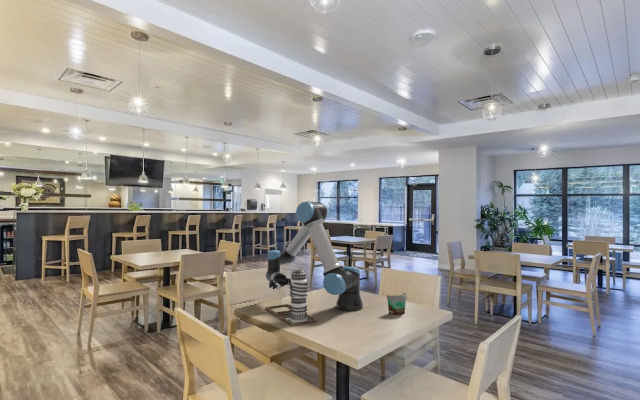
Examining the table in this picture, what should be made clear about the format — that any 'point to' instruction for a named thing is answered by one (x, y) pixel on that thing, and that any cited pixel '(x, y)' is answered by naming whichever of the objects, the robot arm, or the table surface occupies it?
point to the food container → (397, 304)
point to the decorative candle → (298, 296)
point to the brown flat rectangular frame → (286, 316)
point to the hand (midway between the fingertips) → (292, 286)
